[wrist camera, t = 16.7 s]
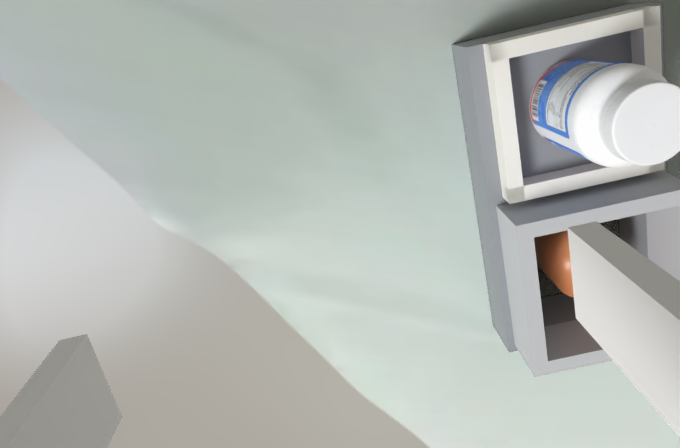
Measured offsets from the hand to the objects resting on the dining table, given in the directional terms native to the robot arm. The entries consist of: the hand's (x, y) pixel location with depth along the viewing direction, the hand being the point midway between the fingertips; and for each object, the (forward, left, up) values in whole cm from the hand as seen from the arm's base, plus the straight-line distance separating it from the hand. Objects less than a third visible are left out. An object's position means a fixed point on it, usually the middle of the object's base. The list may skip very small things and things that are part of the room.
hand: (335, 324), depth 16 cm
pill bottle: (+1, +16, -23) cm, 28 cm away
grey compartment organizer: (+7, +16, -27) cm, 32 cm away
